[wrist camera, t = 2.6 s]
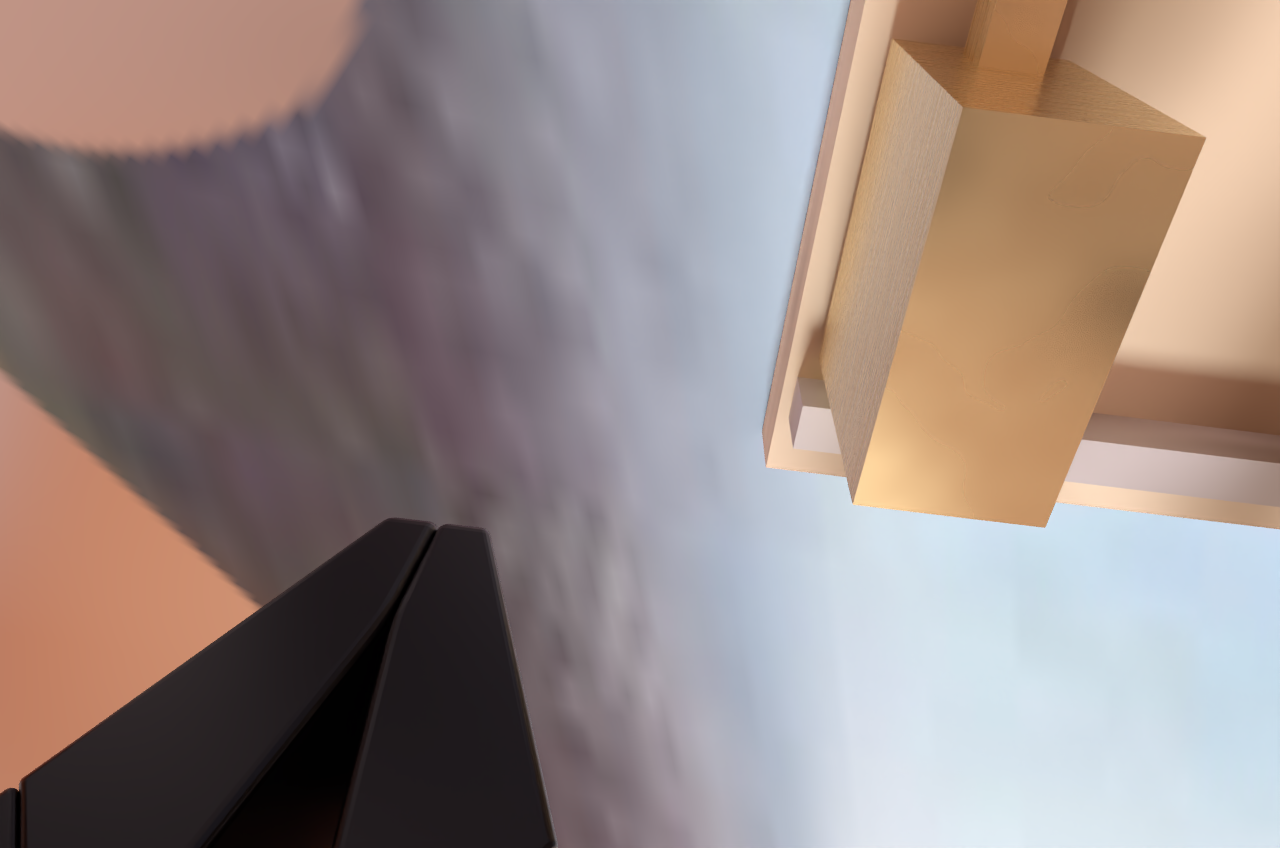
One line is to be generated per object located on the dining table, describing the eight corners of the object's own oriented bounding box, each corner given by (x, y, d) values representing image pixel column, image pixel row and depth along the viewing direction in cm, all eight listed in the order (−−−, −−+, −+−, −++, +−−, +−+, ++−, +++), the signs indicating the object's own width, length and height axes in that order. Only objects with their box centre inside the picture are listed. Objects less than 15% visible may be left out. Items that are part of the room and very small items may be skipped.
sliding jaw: (1164, -229, 14) (1372, -264, 10) (967, 375, 19) (1045, 527, 15) (959, -255, 14) (1075, -302, 9) (818, 356, 19) (852, 504, 15)
